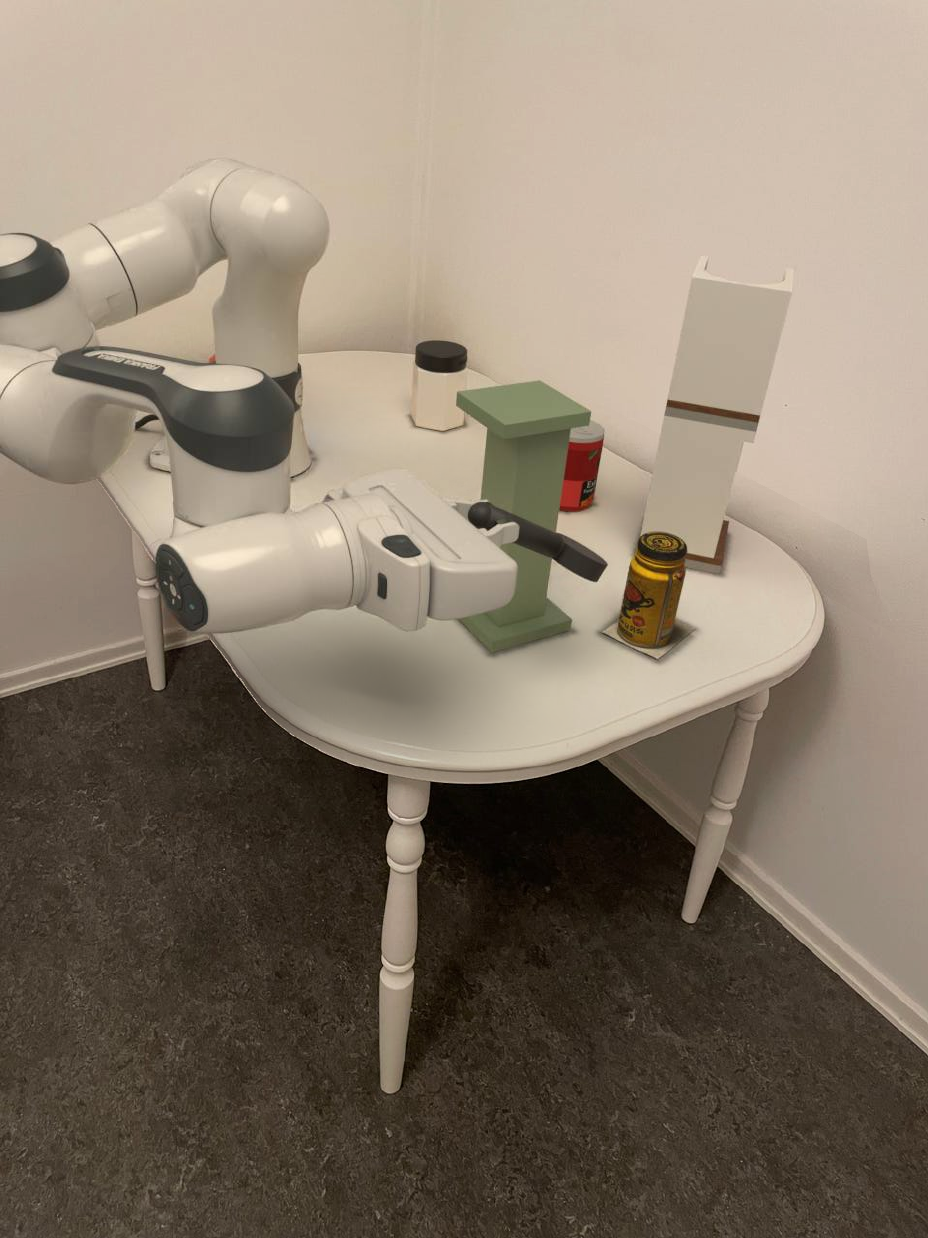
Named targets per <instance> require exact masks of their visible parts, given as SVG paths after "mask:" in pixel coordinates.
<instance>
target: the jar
mask: <svg viewBox="0 0 928 1238" xmlns="http://www.w3.org/2000/svg"><path fill="white" fill-rule="evenodd" d="M414 354H415V355H414V360H413V363H412V364H413V365H412V366H413V367H412V383H411V384H412V388H411V404H410V405H411V407H410V408H411V409H410V416H411V419H412V420H413V422H414V425H415V427H418V428H424V429H428V430H434V431H438V432H445V431H448V430H451V429H456V428H459V427H463V426H464V421H465V412H464V411H463V410H461V409H460V408H459V407H457V406H456V398H457V391H465V390H467V385H468V383H467V382H468V373H469V371H468V368H467V363H468V349H467V348H466V346H464V345H462V344H460V343H458V342H453V341H448V340H439V339H436V340H435V339H433V340H425V341H422V342H419V343H417V344H416V345H415V353H414Z"/></svg>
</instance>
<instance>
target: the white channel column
mask: <svg viewBox="0 0 928 1238" xmlns="http://www.w3.org/2000/svg"><path fill="white" fill-rule="evenodd" d="M709 259H710V256H708V255H700V258H699V260H698V262H697V265H696V266H695V269H694V272H693V274H692V276H691V280H690V284H689V289H688V295H687V300H686V305H685V310H684V315H683V319H682V324H681V330H680V334H679V339H678V346H677V350H676V355H675V358H674V359H675V360H674V364H673V365H674V366H673V369H672V375H671V380H670V385H669V390H668V394H667V399H666V404H665V405H666V406H665V410H664V415H663V420H662V426H661V430H660V434H659V440H658V445H657V450H656V455H655V461H654V465H653V470H652V475H651V480H650V485H649V490H648V494H647V495H648V496H647V500H646V505H645V509H644V515H643V520H642V524H641V530H640V535H639V537H640V536H642V535H643V534H645V533H648V532H655V531H656V532H666V533H670V534H673V535H676V536H677V537H679V538H681V539H682V540H683V541H684V542H685V544H686V545H687V553H686V556H685V559H686V561H685V563H684V565H685V567H686V568H687V569H693V570H698V571H701V572H702V571H703V572H707V573H711V574H717V575H720V573H721V571H722V570H721V569H722V566H723V563H724V557H725V550H726V543H727V537H728V531H729V524H730V520H726V519H725V515H726V511H727V507H728V503H729V500H730V495H731V491H732V487H733V483H734V479H735V476H736V472H737V471H738V467H739V463H740V459H741V455H742V451H743V447H744V443H749V444H750V443H751V444H754V441H755V438H756V434H757V430H758V427H759V423H760V418H761V415H762V412H763V406H764V403H765V399H766V396H767V391H768V388H769V383H770V379H771V376H772V372H773V368H774V364H775V362H776V361H775V360H776V356H777V353H778V349H779V346H780V341H781V337H782V335H783V334H782V333H783V329H784V325H785V322H786V318H787V315H788V311H789V307H790V302H791V299H792V296H793V288H794V287H793V286H794V271H795V270H794V268H790V267H785V268H784V269H785V270H784V273H783V276H782V277H783V278H782V280H781V282H778V283H769V284H760V283H748V282H740V281H734V280H730V279H727V278H722V277H720V276H716V275H713V274H711V273H709V272H708V271H707V268H708V263H709Z"/></svg>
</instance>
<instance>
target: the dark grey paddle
mask: <svg viewBox="0 0 928 1238" xmlns="http://www.w3.org/2000/svg"><path fill="white" fill-rule="evenodd" d="M506 517H508V518H510V519H511V520H513V521H514V522H515V523H517V524H518V525H519V535H518V539H517V540H516V541H515V542H512V543H514V544H517V545H519V546H522V547H524V548H527V549H529V550H532V551H534V552H537V553H539V554H542V555H544V556H547V557H550V558H552V561H554V562H556V563H557V564H559V565H560V566H562V567H563V568H565V569H566V570H568V571H570V572H571V573H573V574H574V575H577V576H579V577H580V578H582V579H585V580H587V581H589V582H592V583H598V581H599V580H600V578H601V577H602V575H603V574H604V572H605V571H606V569H607V567H608V565H609V564H608V562H607V561H606V560H605V559H604V558H603V557H601V556H600V555H599V554H597V552H595V551H594V550H592V549H590V548H588V547H587V546H586V545H584V544H582V543H580V541H577V540H575V539H573V538H571V537H569V536H568V535H565V534H562V533H560V532H556V533H555V532H553V531H551V530H548V529H546V528H544V527H542V526H539V525H537V524H535V523H532V522H530V521H528V520H525V519H523V518H521V517H518V516H516V515H514V514H512V513H509V512H507V511H505V510H502V509H500V508H498V507H495V506H493V505H491V504H488V503H486V502H477V503H475V504H473V505H472V506H471V507H470V509H469V511H468V520H469V522H470V523H471V524H472V525H474V526H475V527H476V528H477V529H481V528H485V529H486V530H487V531H489V530H490V529H492V528H493V527H494V520H496V519H504V518H506Z"/></svg>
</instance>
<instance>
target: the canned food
mask: <svg viewBox="0 0 928 1238" xmlns="http://www.w3.org/2000/svg"><path fill="white" fill-rule="evenodd" d="M605 432H606V431H605V428H604V427H603V426H602V425H601V424H600V423H598V422H597V421H595V420H592V419H590V424H589V426H583V427H577V428H571V432H570V439H569V446H568V452H567V459H566V466H565V473H564V480H563V487H562V494H561V500H560V507H559V511H561V512H569V513H571V512H573V513H574V512H581V511H584V510H587V509H589V508H590V507H591V505H592V503H593V501H594V499H595V494H596V487H597V482H598V476H599V471H600V463H601V459H602V453H603V449H604V439H605Z"/></svg>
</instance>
